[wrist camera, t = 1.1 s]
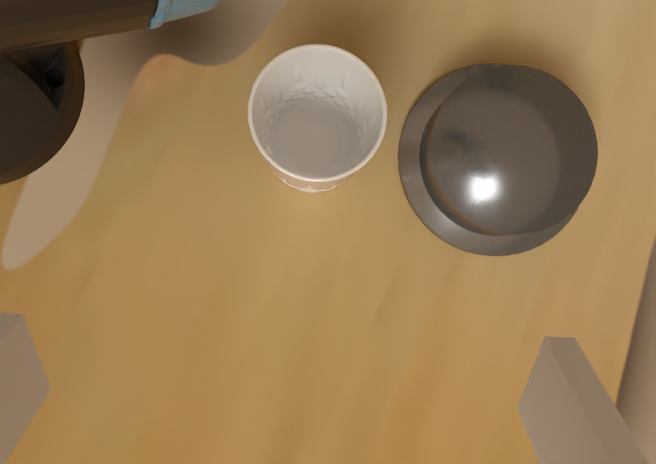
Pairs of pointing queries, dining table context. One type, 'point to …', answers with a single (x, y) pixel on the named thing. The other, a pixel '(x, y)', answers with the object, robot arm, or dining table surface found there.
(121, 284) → the dining table surface
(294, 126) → the white cup
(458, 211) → the grey round shallow piece
